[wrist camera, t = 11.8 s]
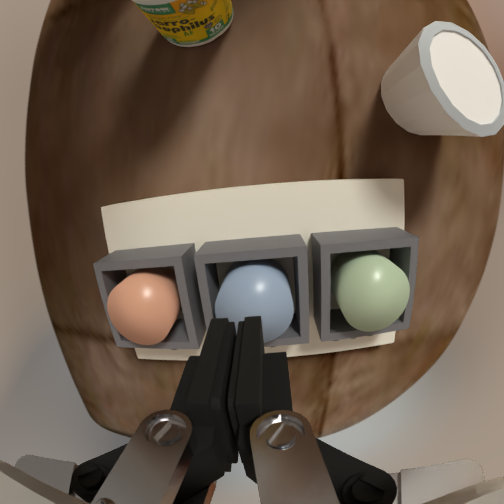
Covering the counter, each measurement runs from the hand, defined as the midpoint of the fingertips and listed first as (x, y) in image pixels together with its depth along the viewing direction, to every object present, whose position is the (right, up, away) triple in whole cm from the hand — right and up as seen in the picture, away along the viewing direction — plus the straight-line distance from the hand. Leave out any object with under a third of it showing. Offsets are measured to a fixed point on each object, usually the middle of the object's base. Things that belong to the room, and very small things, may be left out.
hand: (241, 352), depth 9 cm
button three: (+7, +2, +8) cm, 11 cm away
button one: (-6, +1, +9) cm, 10 cm away
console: (+1, +2, +10) cm, 10 cm away
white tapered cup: (+12, +15, +6) cm, 20 cm away
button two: (+1, +1, +8) cm, 8 cm away
